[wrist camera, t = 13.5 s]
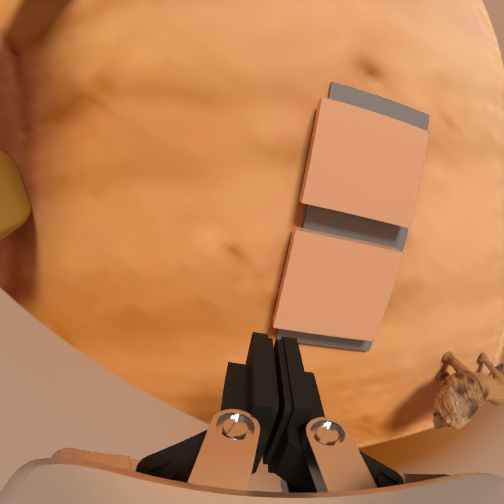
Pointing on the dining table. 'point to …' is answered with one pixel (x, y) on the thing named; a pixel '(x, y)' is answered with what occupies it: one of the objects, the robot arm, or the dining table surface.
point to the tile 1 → (335, 285)
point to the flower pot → (12, 197)
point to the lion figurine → (465, 392)
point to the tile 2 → (364, 163)
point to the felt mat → (355, 224)
